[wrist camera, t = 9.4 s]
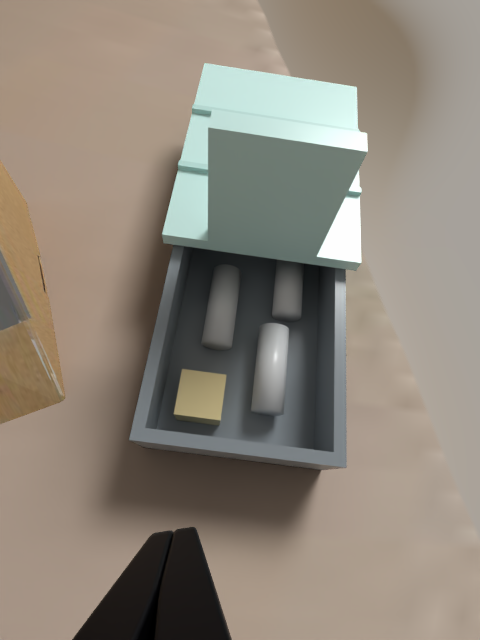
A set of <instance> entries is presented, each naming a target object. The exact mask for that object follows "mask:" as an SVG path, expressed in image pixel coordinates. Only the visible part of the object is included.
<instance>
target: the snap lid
mask: <svg viewBox="0 0 480 640" xmlns="http://www.w3.org/2000/svg"><path fill="white" fill-rule="evenodd" d="M357 119H358V118H357V87H353V86H346V85H340V84H334V83H328V82H321V81H315V80H308V79H302V78H296V77H290V76H283V75H277V74H271V73H264V72H258V71H252V70H245V69H239V68H233V67H226V66H220V65H214V64H207V63H204V67H203V71H202V75H201V79H200V83H199V87H198V91H197V95H196V99H195V103H194V104H193V106H192V115H191V119H190V124H189V128H188V132H187V136H186V140H185V144H184V148H183V152H182V156H181V160H179V162H178V172H177V176H176V180H175V184H174V188H173V192H172V196H171V200H170V204H169V208H168V212H167V216H166V220H165V224H164V228H163V232H162V237H163V243H166V244H173V245H180V246H187V247H194V248H201V249H208V250H215V251H222V252H229V253H236V254H243V255H250V256H257V257H264V258H271V259H278V260H285V261H292V262H299V263H306V264H313V265H320V266H327V267H333V268H340V269H347V270H354V271H356V270H357V269H358V267H359V266H360V264H361V234H360V194H361V187H359V168H360V166H361V164H362V162H363V160H364V158H365V156H366V154H367V152H368V151H367V133H363V132H360V130H358V120H357Z"/></svg>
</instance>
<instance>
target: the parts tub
mask: <svg viewBox="0 0 480 640" xmlns="http://www.w3.org/2000/svg"><path fill="white" fill-rule="evenodd" d="M129 440H130V441H132V442H134V443H136V444H138V445H140V446H142V447H144V448H152V449H160V450H168V451H176V452H184V453H192V454H199V455H207V456H215V457H223V458H231V459H239V460H246V461H254V462H262V463H270V464H278V465H286V466H293V467H301V468H309V469H317V470H328V469H338V468H346V271H345V269H340V268H333V267H327V266H320V265H313V264H306V263H299V262H292V261H285V260H278V259H271V258H264V257H257V256H250V255H243V254H236V253H229V252H222V251H215V250H208V249H201V248H194V247H187V246H180V245H173V249H172V254H171V258H170V263H169V267H168V271H167V276H166V280H165V284H164V289H163V293H162V298H161V302H160V306H159V311H158V315H157V319H156V324H155V328H154V333H153V337H152V341H151V346H150V350H149V354H148V359H147V363H146V368H145V372H144V376H143V381H142V385H141V389H140V394H139V398H138V403H137V407H136V411H135V416H134V420H133V424H132V429H131V433H130V437H129Z"/></svg>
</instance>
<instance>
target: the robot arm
mask: <svg viewBox="0 0 480 640" xmlns="http://www.w3.org/2000/svg"><path fill="white" fill-rule="evenodd" d="M72 640H232V639H231V636H230V633H229V629H228V626H227V623H226V620H225V617H224V614H223V611H222V608H221V604H220V601H219V598H218V595H217V592H216V589H215V586H214V582H213V579H212V576H211V573H210V570H209V567H208V564H207V561H206V557H205V554H204V551H203V548H202V545H201V542H200V539H199V536H198V532H197V530H196V528H195V527H189V528H182V529H177V530H176V531H175V532H173V531H164V532H158V533H154V534H152V535H151V536H150V537H149V538H148V540H147V541H146V542H145V544H144V545H143V546H142V548H141V549H140V550H139V552H138V553H137V554H136V556H135V557H134V558H133V560H132V561H131V562H130V564H129V565H128V566H127V568H126V569H125V570H124V572H123V573H122V574H121V576H120V577H119V578H118V579H117V581H116V582H115V583H114V585H113V586H112V587H111V589H110V590H109V591H108V593H107V594H106V595H105V597H104V598H103V599H102V601H101V602H100V603H99V605H98V606H97V607H96V609H95V610H94V611H93V613H92V614H91V615H90V617H89V618H88V619H87V621H86V622H85V623H84V625H83V626H82V627H81V629H80V630H79V631H78V633H77V634H76V635H75V637H74V638H73V639H72Z"/></svg>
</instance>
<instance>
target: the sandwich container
mask: <svg viewBox="0 0 480 640" xmlns="http://www.w3.org/2000/svg"><path fill="white" fill-rule="evenodd" d="M38 258H39V260H38ZM39 262H40V265H41V269H42V274H43V279H44V284H45V292H46V293H45V292H44V289H43V284H42V277H41V271H40V265H39ZM64 399H65V393H64V387H63V381H62V375H61V369H60V362H59V356H58V350H57V344H56V338H55V332H54V326H53V320H52V314H51V308H50V302H49V298H48V296H47V288H46V283H45V278H44V273H43V268H42V263H41V259H40V253H39V249H38V245H37V241H36V238H35V234H34V230H33V226H32V222H31V218H30V215H29V211H28V207H27V203H26V201H25V199H24V198H23V196H22V195H21V193H20V191H19V190H18V188H17V187H16V185H15V183H14V182H13V180H12V178H11V177H10V175H9V174H8V172H7V170H6V169H5V167H4V165H3V164H2V162H1V161H0V424H2V423H5V422H7V421H10V420H13V419H16V418H18V417H21V416H24V415H27V414H29V413H32V412H35V411H37V410H40V409H43V408H46V407H48V406H51V405H54V404H56V403H59V402H61V401H63V400H64Z"/></svg>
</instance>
